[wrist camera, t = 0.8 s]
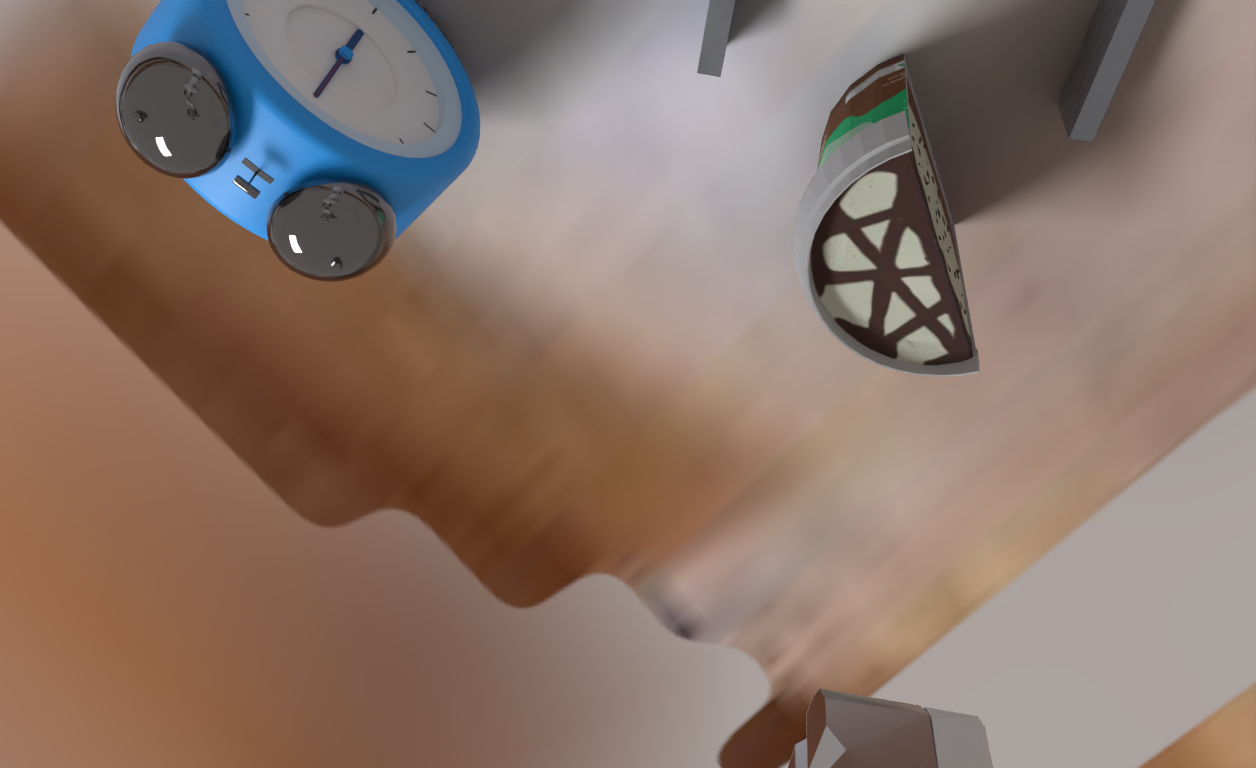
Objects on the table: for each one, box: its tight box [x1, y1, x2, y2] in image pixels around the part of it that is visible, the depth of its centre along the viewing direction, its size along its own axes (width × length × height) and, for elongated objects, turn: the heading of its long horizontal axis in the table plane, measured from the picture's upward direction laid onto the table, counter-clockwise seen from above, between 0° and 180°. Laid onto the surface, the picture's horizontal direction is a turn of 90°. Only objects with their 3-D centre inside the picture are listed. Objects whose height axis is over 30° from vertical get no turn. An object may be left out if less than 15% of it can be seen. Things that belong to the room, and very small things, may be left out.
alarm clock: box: [115, 0, 480, 282], centre depth 48 cm, size 13×6×15 cm, turn 47°
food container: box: [792, 54, 980, 377], centre depth 51 cm, size 12×6×10 cm, turn 24°
